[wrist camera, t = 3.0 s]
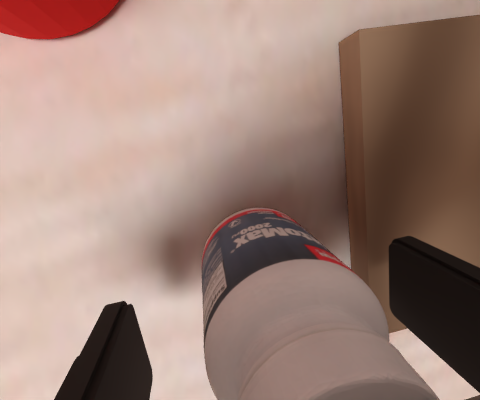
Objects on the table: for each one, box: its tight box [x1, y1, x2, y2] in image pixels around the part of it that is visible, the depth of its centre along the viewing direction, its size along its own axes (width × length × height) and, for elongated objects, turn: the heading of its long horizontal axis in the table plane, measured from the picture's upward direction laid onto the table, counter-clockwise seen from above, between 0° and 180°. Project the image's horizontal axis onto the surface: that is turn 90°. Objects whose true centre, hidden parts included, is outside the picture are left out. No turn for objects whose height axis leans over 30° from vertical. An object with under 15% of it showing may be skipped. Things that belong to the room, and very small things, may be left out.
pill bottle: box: [202, 208, 439, 400], centre depth 9 cm, size 5×5×9 cm
